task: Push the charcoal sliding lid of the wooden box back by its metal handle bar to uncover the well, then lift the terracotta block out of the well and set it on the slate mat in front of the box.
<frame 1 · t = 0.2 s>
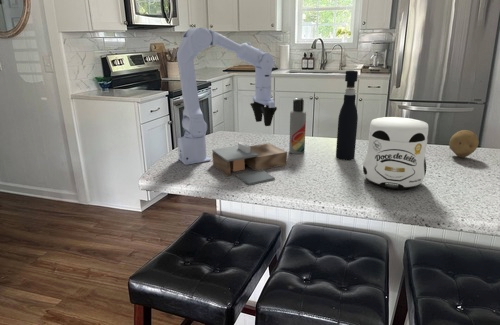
hand: (263, 123, 139), 10 cm above the kitchen island, tool pointing down, fingers open, 7 cm apart
doce de leite jar: (391, 182, 111), on the kitchen island
block: (236, 168, 123), resting in wooden box
lotion bottle: (296, 152, 139), on the kitchen island
mat: (255, 177, 114), on the kitchen island
potato: (460, 158, 130), on the kitchen island
wooden box: (249, 164, 126), on the kitchen island
slide cover: (234, 150, 121), point 6 cm above the kitchen island, slide at 0.0 cm
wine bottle: (344, 158, 132), on the kitchen island
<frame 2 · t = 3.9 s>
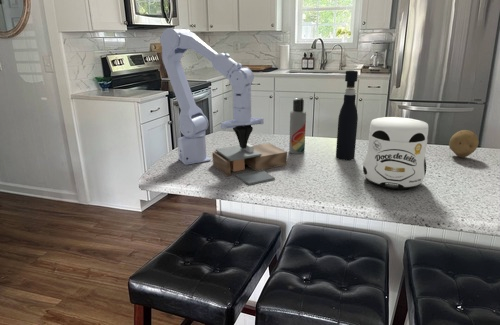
hand: (243, 147, 123), 6 cm above the kitchen island, tool pointing down, fingers closed
slide cover: (238, 149, 122), point 6 cm above the kitchen island, slide at 1.2 cm, touching gripper
everything else where it was.
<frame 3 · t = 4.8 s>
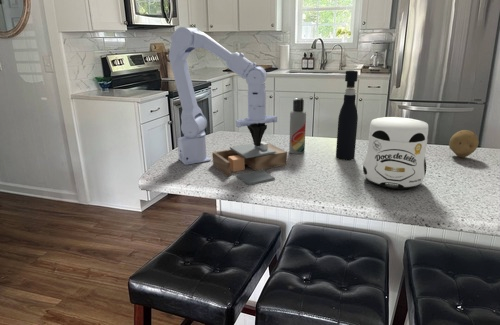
hand: (257, 145, 125), 6 cm above the kitchen island, tool pointing down, fingers closed
slide cover: (252, 147, 124), point 6 cm above the kitchen island, slide at 6.5 cm, touching gripper
everything else where it was.
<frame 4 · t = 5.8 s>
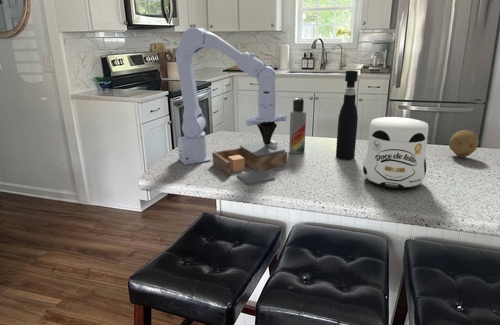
hand: (266, 143, 127), 6 cm above the kitchen island, tool pointing down, fingers closed
slide cover: (261, 145, 126), point 6 cm above the kitchen island, slide at 10.2 cm, touching gripper
everything else where it was.
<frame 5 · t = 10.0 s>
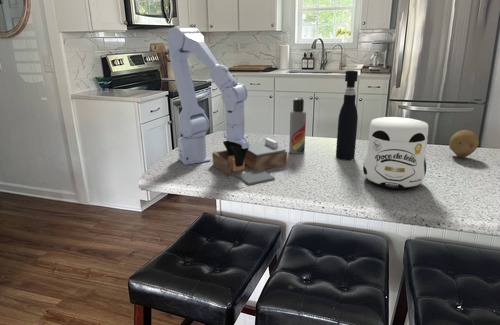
hand: (236, 163, 122), 2 cm above the kitchen island, tool pointing down, fingers closed on block, 4 cm apart
block: (236, 168, 123), resting in wooden box, touching gripper
slide cover: (262, 145, 126), point 6 cm above the kitchen island, slide at 10.4 cm
everything else where it was.
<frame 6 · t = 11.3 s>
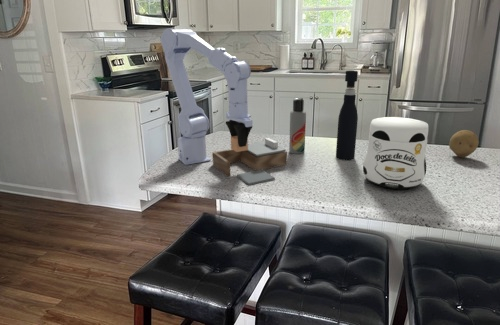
hand: (239, 144, 118), 9 cm above the kitchen island, tool pointing down, fingers closed on block, 4 cm apart
block: (239, 149, 119), point 7 cm above the kitchen island, touching gripper
everything else where it was.
when the fingers open (4 cm above the kitchen island, at t = 13.1 s): block drops 1 cm, resting on mat.
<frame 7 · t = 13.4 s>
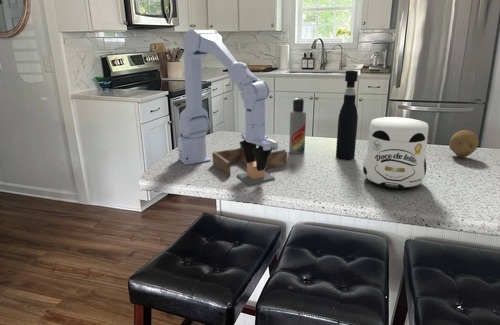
hand: (255, 166, 113), 4 cm above the kitchen island, tool pointing down, fingers open, 6 cm apart
block: (255, 176, 114), point 1 cm above the kitchen island, touching mat
everything else where it was.
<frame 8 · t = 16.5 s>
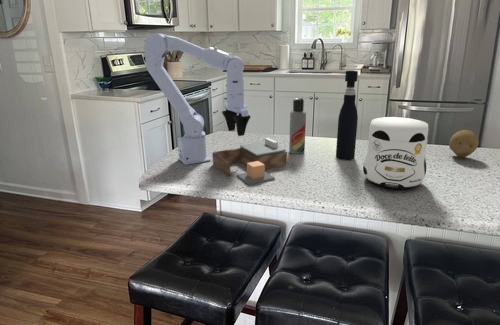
hand: (236, 132, 129), 9 cm above the kitchen island, tool pointing down, fingers open, 7 cm apart
nothing on the kitchen island moved.
at the end: slide cover slide at 10.4 cm; block inside the target area (0.1 cm from its centre), point 0.6 cm above the kitchen island; block tilted 0° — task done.
